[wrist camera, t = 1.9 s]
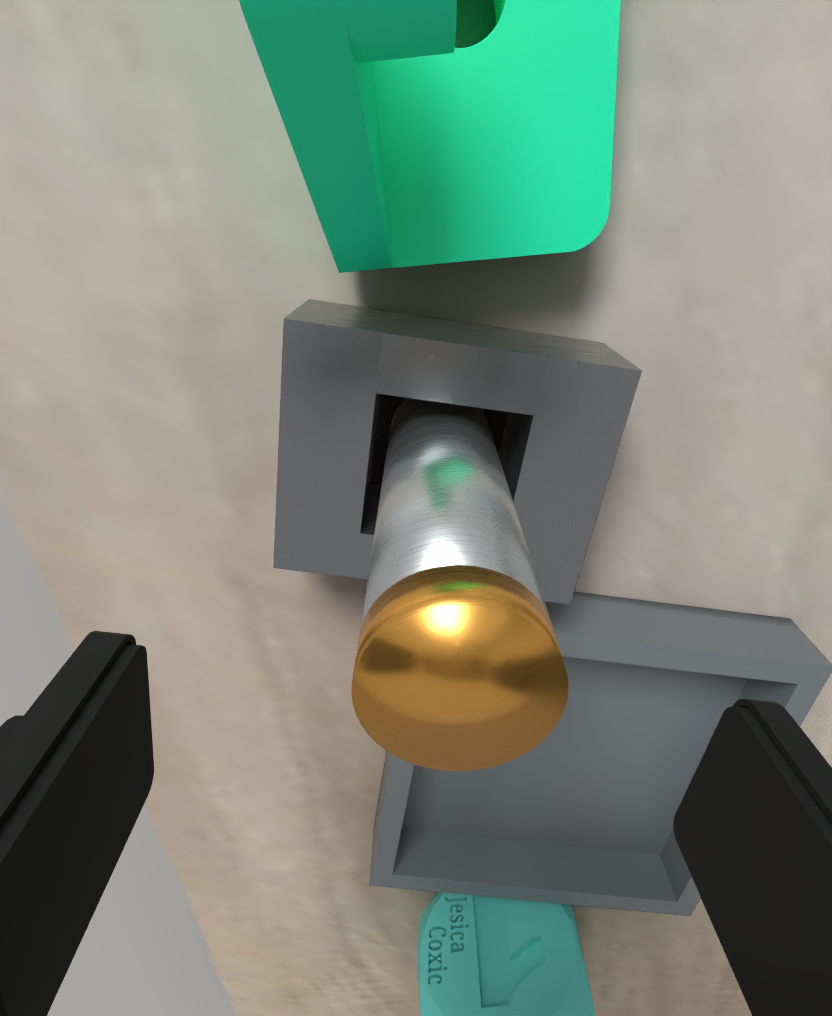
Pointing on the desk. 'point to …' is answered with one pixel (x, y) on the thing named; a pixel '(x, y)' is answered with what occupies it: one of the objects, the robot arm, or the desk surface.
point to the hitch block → (454, 380)
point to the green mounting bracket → (446, 124)
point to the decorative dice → (500, 958)
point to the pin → (453, 604)
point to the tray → (596, 762)
